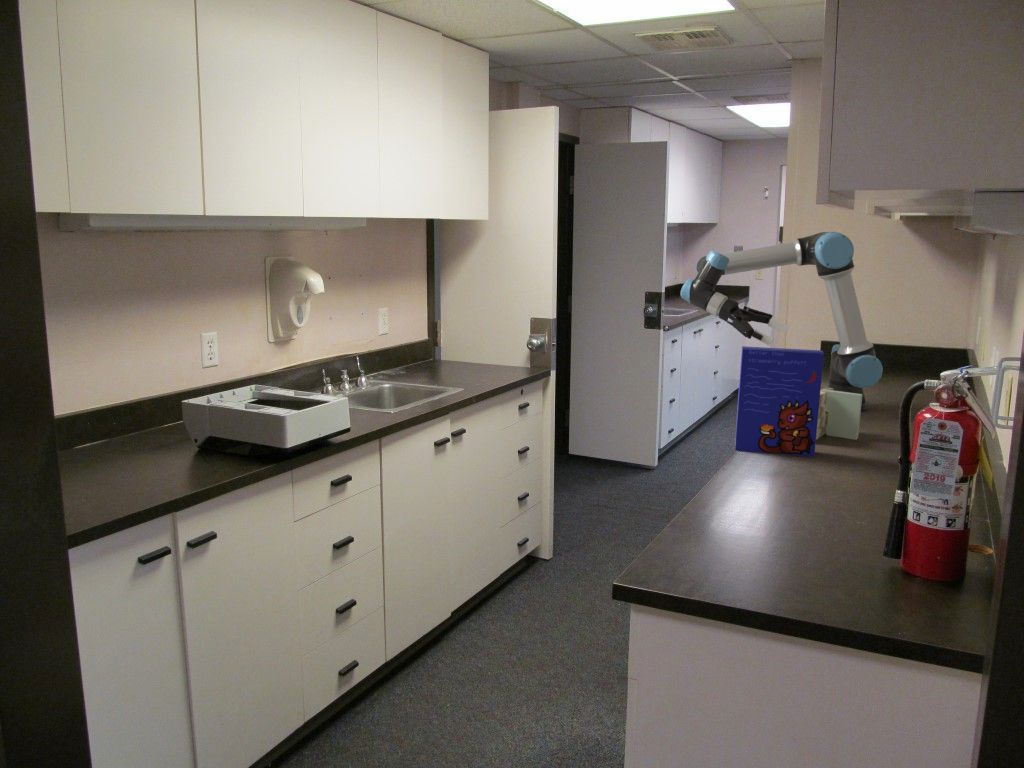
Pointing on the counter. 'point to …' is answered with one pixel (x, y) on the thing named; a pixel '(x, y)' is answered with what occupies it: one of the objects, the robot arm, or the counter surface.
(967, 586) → the counter surface
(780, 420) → the cereal box
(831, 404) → the sage board
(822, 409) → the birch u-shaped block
